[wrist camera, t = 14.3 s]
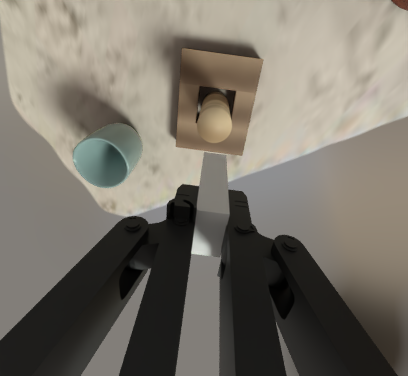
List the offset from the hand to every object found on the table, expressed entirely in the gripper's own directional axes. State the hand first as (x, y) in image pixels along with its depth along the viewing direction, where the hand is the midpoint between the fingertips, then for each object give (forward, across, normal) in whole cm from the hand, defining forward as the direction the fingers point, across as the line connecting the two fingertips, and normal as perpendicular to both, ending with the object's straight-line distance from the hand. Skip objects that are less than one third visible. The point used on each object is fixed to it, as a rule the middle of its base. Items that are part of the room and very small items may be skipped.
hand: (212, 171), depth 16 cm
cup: (+24, -15, -8) cm, 29 cm away
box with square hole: (+24, 0, 0) cm, 24 cm away
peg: (+24, 0, 0) cm, 24 cm away
